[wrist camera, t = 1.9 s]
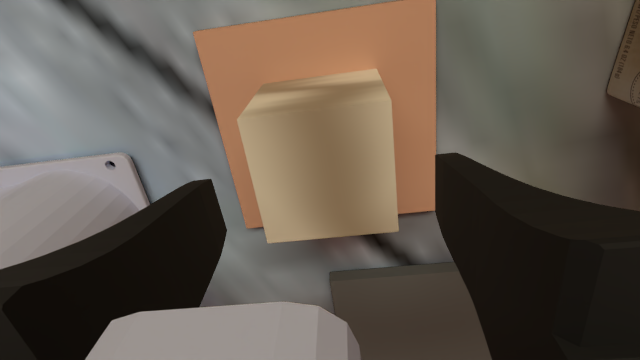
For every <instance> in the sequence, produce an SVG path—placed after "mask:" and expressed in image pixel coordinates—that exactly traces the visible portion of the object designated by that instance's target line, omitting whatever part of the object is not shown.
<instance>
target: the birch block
mask: <svg viewBox="0 0 640 360" xmlns="http://www.w3.org/2000/svg"><path fill="white" fill-rule="evenodd" d="M237 123H238V127H239V131H240V135H241V139H242V143H243V147H244V151H245V155H246V159H247V163H248V167H249V171H250V175H251V179H252V183H253V187H254V191H255V195H256V199H257V203H258V207H259V211H260V215H261V219H262V223H263V227H264V231H265V235H266V239H267V243H278V242H289V241H300V240H311V239H321V238H332V237H343V236H354V235H365V234H376V233H387V232H398V231H399V228H398V210H397V192H396V174H395V156H394V138H393V120H392V102H391V98H390V96H389V94H388V92H387V90H386V88H385V86H384V83H383V81H382V79H381V77H380V75H379V73H378V70H377V69H369V70H362V71H354V72H347V73H339V74H332V75H325V76H317V77H310V78H302V79H295V80H287V81H280V82H272V83H265V84H263V85H262V86H261V87H260V89H259V90H258V92H257V93H256V94H255V96H254V97H253V98H252V100H251V101H250V102H249V104H248V105H247V107H246V108H245V109H244V111H243V112H242V113H241V115H240V116H239V117H238V119H237Z"/></svg>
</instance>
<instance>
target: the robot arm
mask: <svg viewBox="0 0 640 360" xmlns="http://www.w3.org/2000/svg"><path fill="white" fill-rule="evenodd" d="M109 161H112V162H113V163H114V164H115V166H116V167H114V166H112V165H111V164H110V163H109ZM435 212H436V216H437V219H438V223H439V226H440V229H441V233H442V236H443V238H444V240H445V243H446V245H447V247H448V249H449V251H450V253H451V256H452V258H453V260H454V262H455V264H456V266H457V268H458V270H459V273H460V275H461V277H462V279H463V281H464V283H465V285H466V287H467V289H468V292H469V294H470V296H471V299H472V301H473V304H474V306H475V309H476V312H477V315H478V318H479V321H480V324H481V327H482V330H483V333H484V336H485V339H486V342H487V346H488V349H489V352H490V355H491V358H492V360H640V211H634V210H627V209H621V208H616V207H610V206H605V205H600V204H595V203H591V202H586V201H582V200H577V199H573V198H569V197H566V196H562V195H559V194H555V193H552V192H549V191H546V190H542V189H539V188H536V187H533V186H531V185H528V184H525V183H523V182H520V181H518V180H515V179H513V178H510V177H508V176H506V175H504V174H501V173H499V172H497V171H495V170H493V169H491V168H488V167H486V166H484V165H482V164H480V163H478V162H476V161H474V160H472V159H470V158H468V157H466V156H463V155H461V154H458V153H447V154H438V155H435ZM226 232H227V229H226V226H225V222H224V219H223V216H222V213H221V209H220V206H219V203H218V199H217V196H216V193H215V190H214V186H213V183H212V180H211V179H206V180H197V181H192V182H189V183H187V184H185V185H183V186H181V187H179V188H177V189H176V190H174V191H172V192H171V193H169V194H167V195H165V196H164V197H162V198H160V199H159V200H157V201H155V202H154V203H152V204H150V203H149V201H148V198H147V196H146V193H145V191H144V188H143V186H142V183H141V181H140V178H139V176H138V173H137V171H136V168H135V166H134V163H133V161H132V159H131V157H130V156H128V155H127V154H125V153H111V154H103V155H95V156H86V157H78V158H70V159H61V160H53V161H45V162H36V163H28V164H20V165H11V166H3V167H0V360H361V355H360V348H359V344H358V342H357V340H356V338H355V337H354V335H353V333H352V331H351V329H350V327H349V325H348V324H347V322H345V321H343V320H342V319H340V318H338V317H337V316H335V315H333V314H332V313H330V312H328V311H326V310H325V309H323V308H321V307H320V306H317V305H309V304H301V303H293V302H270V303H256V304H242V305H228V306H215V307H201V308H199V306H200V304H201V302H202V299H203V297H204V295H205V292H206V290H207V288H208V285H209V283H210V281H211V278H212V276H213V273H214V271H215V269H216V266H217V264H218V261H219V259H220V256H221V253H222V249H223V246H224V241H225V237H226Z"/></svg>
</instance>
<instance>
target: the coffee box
mask: <svg viewBox="0 0 640 360" xmlns="http://www.w3.org/2000/svg"><path fill="white" fill-rule="evenodd" d="M607 93H608V94H609V95H611V96H613V97H615V98H618V99H620V100H622V101H625V102H627V103H629V104H632V105H635V106H637V107H640V0H636V1H635V4H634V7H633V10H632V13H631V16H630V19H629V22H628V25H627V28H626V32H625V35H624V38H623V41H622V44H621V47H620V50H619V53H618V56H617V59H616V62H615V65H614V69H613V72H612V75H611V78H610V82H609V85H608V88H607Z"/></svg>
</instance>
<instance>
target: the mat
mask: <svg viewBox="0 0 640 360" xmlns="http://www.w3.org/2000/svg"><path fill="white" fill-rule="evenodd" d="M330 286H331V292H332V298H333V303H334V309H335V315H336V316H337V317H338V318H340V319H342V320H343V321H345V322H347V324H348V325H349V327H350V329H351V331H352V333H353V335H354V337H355V338H356V340H357V342H358V344H359V348H360V355H361V360H492V358H491V355H490V352H489V349H488V346H487V342H486V339H485V336H484V333H483V330H482V327H481V324H480V321H479V318H478V315H477V312H476V309H475V306H474V304H473V301H472V299H471V296H470V294H469V292H468V289H467V287H466V285H465V283H464V281H463V279H462V277H461V275H460V273H459V270H458V268H457V266H456V264H455V262H447V263H435V264H423V265H411V266H398V267H386V268H374V269H362V270H350V271H337V272H330Z"/></svg>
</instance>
